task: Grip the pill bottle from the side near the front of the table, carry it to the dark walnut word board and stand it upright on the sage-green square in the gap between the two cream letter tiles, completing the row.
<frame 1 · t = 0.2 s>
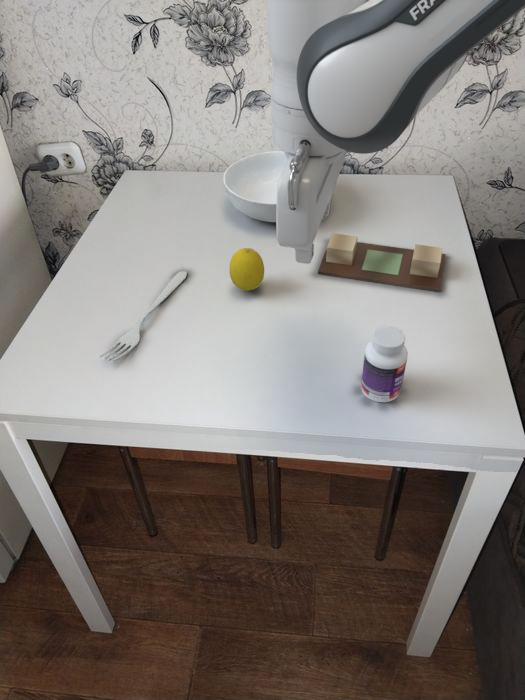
hand: (313, 236, 70), 21 cm above the table, tool pointing down, fingers open, 8 cm apart
lemon: (248, 290, 96), on the table
word board: (382, 265, 100), on the table
serving bowl: (279, 208, 114), on the table
fork: (150, 316, 93), on the table
pill bottle: (380, 389, 80), on the table
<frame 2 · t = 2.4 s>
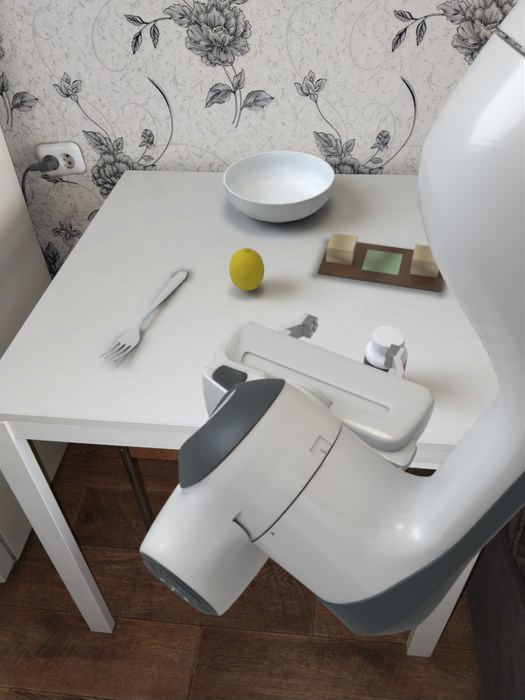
hand: (354, 334, 59), 20 cm above the table, tool horizontal, fingers open, 8 cm apart
nothing on the table moved.
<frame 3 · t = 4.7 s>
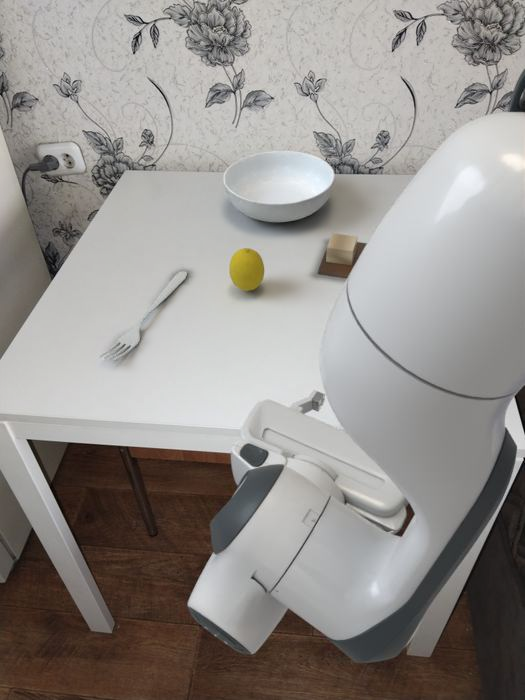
hand: (355, 409, 70), 6 cm above the table, tool horizontal, fingers open, 8 cm apart
nothing on the table moved.
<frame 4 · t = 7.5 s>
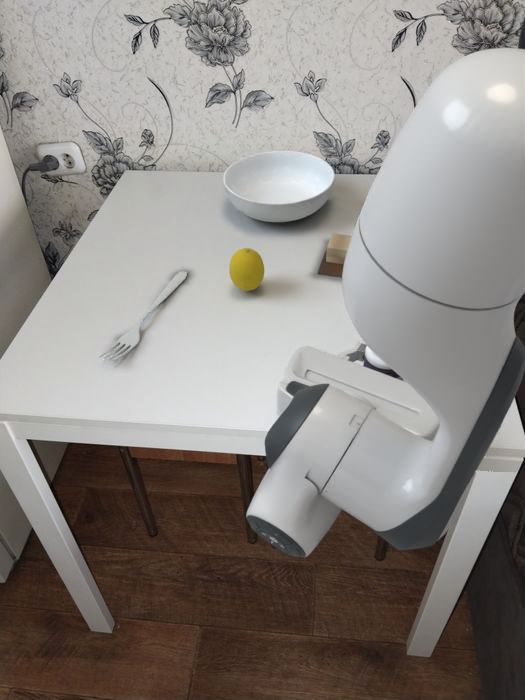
hand: (387, 355, 77), 6 cm above the table, tool horizontal, fingers closed on pill bottle, 5 cm apart
pill bottle: (380, 389, 80), on the table, touching gripper
everything else where it was.
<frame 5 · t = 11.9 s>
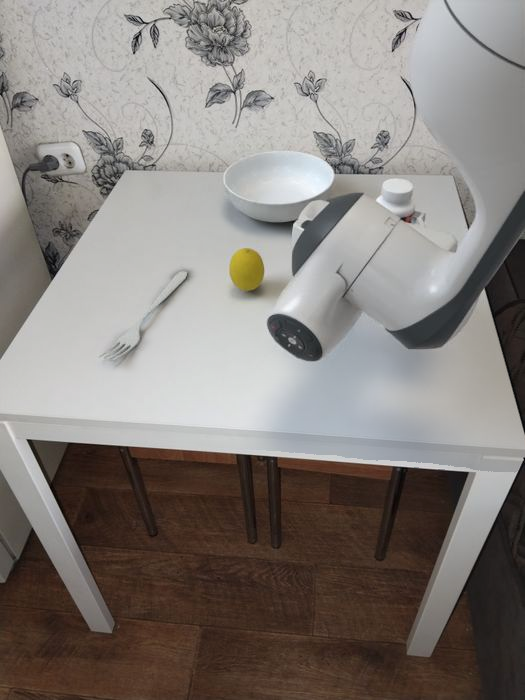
hand: (395, 210, 80), 17 cm above the table, tool horizontal, fingers closed on pill bottle, 5 cm apart
pill bottle: (388, 249, 84), point 11 cm above the table, touching gripper
everything else where it was.
when the fingers open (6 cm above the table, at t = 16.7 s): pill bottle stays where it is, resting on word board.
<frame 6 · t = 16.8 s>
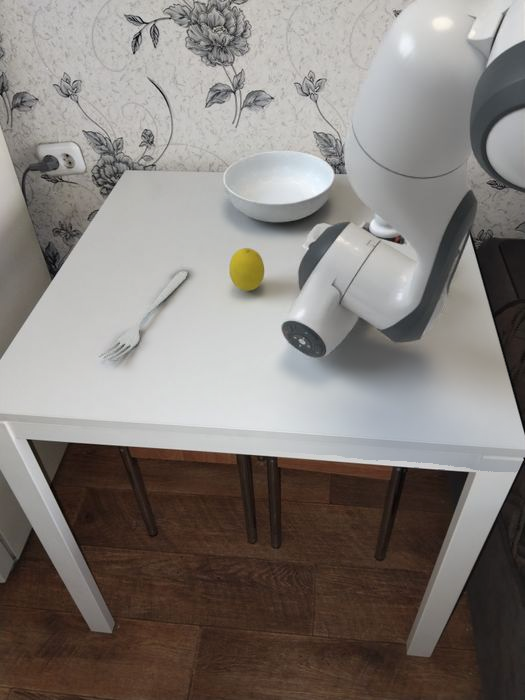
hand: (387, 231, 96), 6 cm above the table, tool horizontal, fingers open, 5 cm apart
pill bottle: (381, 263, 99), point 1 cm above the table, touching word board
everything else where it was.
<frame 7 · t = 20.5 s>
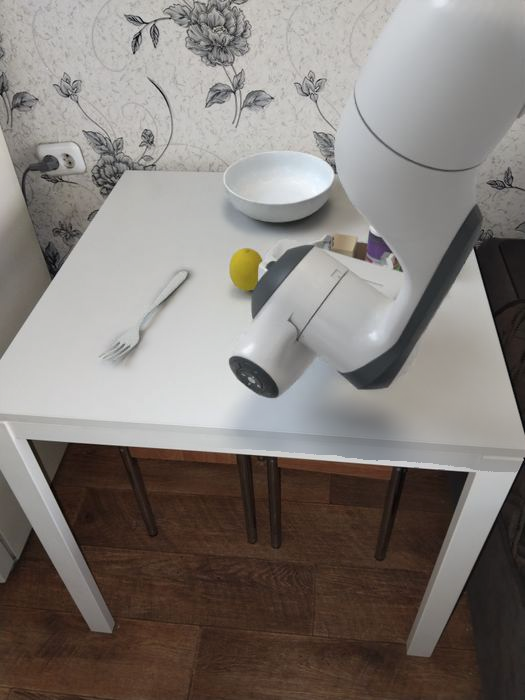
hand: (359, 247, 85), 11 cm above the table, tool horizontal, fingers open, 8 cm apart
nothing on the table moved.
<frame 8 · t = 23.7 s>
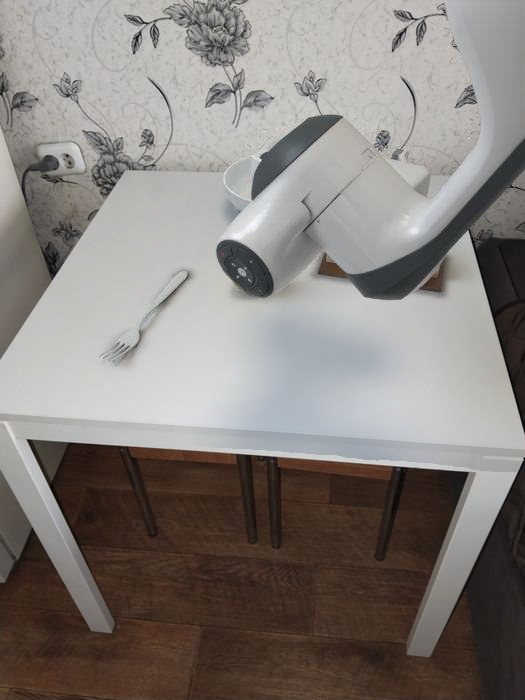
hand: (367, 147, 74), 26 cm above the table, tool horizontal, fingers open, 8 cm apart
nothing on the table moved.
at the end: pill bottle 0.1 cm off-centre on the word board, point 0.5 cm above the word board's base; pill bottle tilted 0°; the gripper is holding nothing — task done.
